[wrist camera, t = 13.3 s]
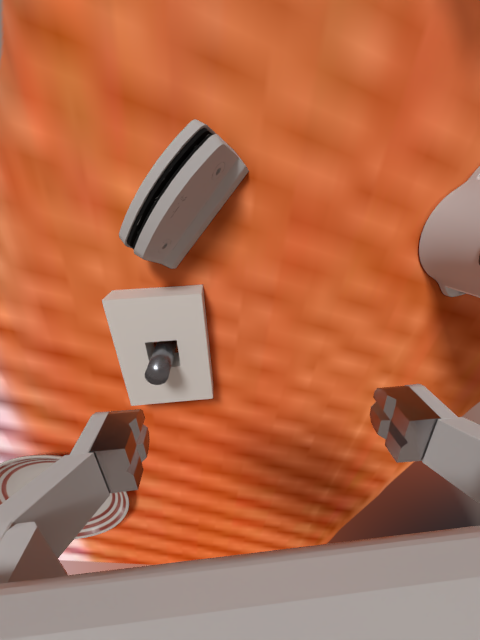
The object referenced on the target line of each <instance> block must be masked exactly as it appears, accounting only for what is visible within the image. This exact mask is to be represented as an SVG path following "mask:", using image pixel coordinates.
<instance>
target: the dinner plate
mask: <svg viewBox="0 0 480 640" xmlns="http://www.w3.org/2000/svg"><path fill="white" fill-rule="evenodd" d="M62 457H63V456H57V455H32V456H24V457H19V458H15V459H11V460H8V461H5V462H3V463H0V505H1V504H2V503H3V502H5V501H6V500H7V499H8V498H10V497H11V496H12V495H14V494H15V493H16V492H17V491H19V490H20V489H21V488H23V487H24V486H25V485H27V484H28V483H29V482H30V481H32V480H33V479H34V478H36V477H37V476H38V475H40V474H41V473H42V472H43V471H45V470H46V469H47V468H49V467H50V466H51V465H53V464H54V463H55V462H56V461H58V460H59V459H60V458H62ZM128 508H129V498H128V495H127V492H126V491H125V492H117V493H110V496H109V497H108V498H107V499H106V501H105V502H104V503H103V504H102V506H101V507H100V508H99V509H98V510H97V512H96V513H95V514H94V515H93V516H92V518H91V519H90V520H89V521H88V523H87V524H86V525H85V526H84V527H83V529H82V530H81V531H80V532H79V533H78V535H77V536H76V537H75V538H74V539H78V538H85V537H90V536H94V535H98V534H101V533H103V532H105V531H108V530H110V529H112V528H113V527H115V526H116V525H117V524H119V523H120V522H121V521H122V520H123V518H124V517H125V516H126V514H127V511H128Z"/></svg>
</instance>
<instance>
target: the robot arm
mask: <svg viewBox="0 0 480 640" xmlns="http://www.w3.org/2000/svg"><path fill="white" fill-rule="evenodd" d="M419 256H420V261H421V264H422V266H423V268H424V270H425V271H426V273H427V274H428V275H429V276H431V277H432V278H433V279H435V280H436V281H437V282H438V283H439V286H440V289H441V291H442V293H443V294H444V295H446V296H449V297H455V296H459V295H463V294H470V295H473V296H476V297H479V298H480V166H479V167H478V168H477V170H476V171H475V172H474V173H473V174H472V176H471V177H470V178H469V179H468V181H466V182H465V183H464V184H463V185H461V186H460V187H458V188H457V189H455V190H454V191H452V192H451V193H450V194H449V195H447V196H446V197H445V198H444V199H443V200H442V201H441V202H440V203H439V204H438V205H437V207H436V208H435V209H434V211H433V212H432V213H431V215H430V217H429V218H428V220H427V222H426V224H425V226H424V229H423V231H422V234H421V238H420V244H419ZM373 398H374V399H375V400H376V403H375V404H374V405H373V406H372V407H371V411H370V418H371V423H372V425H373V428H374V429H375V431H376V432H377V434H378V435H380V436H381V437H383V438H384V439H386V441H385V446H386V447H387V449H388V450H389V452H390V453H391V455H392V456H393V458H394V459H395V461H396V462H411V461H422V462H423V463H424V464H426V465H427V466H428V467H430V468H431V469H433V470H434V471H435V472H437V473H438V474H440V475H441V476H442V477H443V478H445V479H446V480H448V481H449V482H450V483H452V484H453V485H454V486H456V487H457V488H459V489H460V490H461V491H463V492H464V493H465V494H467V495H468V496H469V497H471V498H472V499H474V500H475V501H477V502H478V503H479V504H480V424H477V423H475V422H473V421H471V420H468V419H466V418H464V417H457V416H456V415H455V414H454V413H453V412H452V411H451V410H450V409H449V408H447V407H446V406H445V405H444V404H443V403H442V402H441V401H440V400H439V399H438V398H436V397H435V396H434V395H433V394H432V393H431V392H430V391H429V390H428V389H427V388H426V387H424V386H423V385H421V384H413V385H405V386H395V387H385V388H377V389H376V390H375V392H374V396H373ZM144 420H145V416H144V413H143V410H141V409H137V410H122V411H111V412H96V413H94V414H93V415H92V416H91V418H90V419H89V421H88V423H87V425H86V426H85V428H84V430H83V432H82V434H81V435H80V437H79V439H78V441H77V442H76V444H75V446H74V448H73V449H72V451H71V453H70V455H64V456H63V457H62V458H60V459H59V460H58V461H56V462H55V463H54V464H53V465H51V466H50V467H49V468H47V469H46V470H45V471H43V472H42V473H41V474H40V475H38V476H37V477H36V478H34V479H33V480H32V481H30V482H29V483H28V484H27V485H25V486H24V487H23V488H21V489H20V490H19V491H17V492H16V493H15V494H14V495H12V496H11V497H10V498H8V499H7V500H6V501H5V502H3V503H2V504H1V505H0V640H480V526H472V527H464V528H456V529H448V530H439V531H431V532H423V533H414V534H406V535H398V536H390V537H381V538H373V539H364V540H356V541H348V542H340V543H332V544H323V545H315V546H306V547H298V548H290V549H282V550H274V551H265V552H257V553H249V554H241V555H232V556H224V557H216V558H208V559H199V560H191V561H183V562H175V563H166V564H158V565H150V566H142V567H133V568H125V569H117V570H109V571H100V572H92V573H84V574H76V575H67V572H66V570H65V569H64V568H63V566H62V564H61V563H60V561H59V559H58V558H59V556H60V555H61V554H62V553H63V552H64V550H65V549H66V548H67V547H68V546H69V544H70V543H71V542H72V541H73V540H74V538H75V537H76V536H77V535H78V533H79V532H80V531H81V530H82V529H83V527H84V526H85V525H86V524H87V523H88V521H89V520H90V519H91V518H92V516H93V515H94V514H95V513H96V512H97V510H98V509H99V508H100V507H101V506H102V504H103V503H104V502H105V501H106V499H107V498H108V497H109V496H110V493H117V492H125V491H132V490H138V488H139V484H140V481H141V477H142V473H143V466H142V461H143V460H144V459H145V458H146V457H147V454H148V450H149V431H148V428H147V427H146V426H145V425H144V424H143V423H144Z"/></svg>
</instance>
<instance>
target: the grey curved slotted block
mask: <svg viewBox="0 0 480 640" xmlns="http://www.w3.org/2000/svg"><path fill="white" fill-rule="evenodd" d="M248 172H249V171H248V169H247V167H246V165H245V164H244V163H243V161H242V160H241V159H240V157H239V156H238V155H237V153H236V152H235V151H234V150H233V149H232V148H231V147H230V146H229V145H228V144H227V143H226V142H225V141H224V140H223V139H221V138H220V137H219V136H218V135H217V134H216V133H215V132H214V131H213V130H212V129H210V128H209V127H208V126H207V125H206V124H204V123H202V122H200V121H198V120H193V121H191V122H190V123H189V124H188V125H187V126H186V127H185V128H184V129H183V130H182V131H181V132H180V133H179V134H178V136H177V137H176V138H175V139H174V140H173V141H172V142H171V144H170V145H169V146H168V147H167V149H166V150H165V151H164V152H163V154H162V155H161V156H160V157H159V159H158V160H157V162H156V163H155V164H154V166H153V167H152V169H151V170H150V172H149V173H148V175H147V176H146V178H145V179H144V181H143V183H142V184H141V186H140V188H139V189H138V191H137V193H136V195H135V197H134V199H133V201H132V203H131V205H130V207H129V209H128V211H127V213H126V216H125V218H124V221H123V224H122V226H121V229H120V232H119V237H120V239H121V240H122V241H123V243H124V244H125V245H126V246H127V247H130V248H133V249H134V253H135V254H136V255H137V256H139V257H141V258H142V259H144V260H148V261H152V262H156V263H160V264H163V265H165V266H167V267H168V268H171V269H174V268H177V266H178V265H179V264H180V262H181V261H182V260H183V258H184V257H185V256H186V254H187V253H188V252H189V250H190V249H191V248H192V246H193V245H194V244H195V242H196V241H197V240H198V238H199V237H200V236H201V234H202V233H203V232H204V230H205V229H206V228H207V226H208V225H209V224H210V222H211V221H212V220H213V218H214V217H215V216H216V214H217V213H218V212H219V210H220V209H221V208H222V206H223V205H224V204H225V202H226V201H227V200H228V198H229V197H230V196H231V194H232V193H233V192H234V190H235V189H236V188H237V186H238V185H239V184H240V182H241V181H242V180H243V178H244V177H245V176H246V174H247V173H248Z"/></svg>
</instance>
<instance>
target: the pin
mask: <svg viewBox="0 0 480 640" xmlns="http://www.w3.org/2000/svg"><path fill="white" fill-rule="evenodd" d="M176 346H177V340H173V341H159V342H157V344H156V346H155V349H154V351H153V354H152V356H151V359H150V361H149V364H148V366H147V369H146V371H145V378H146V380H147V381H148V382H149V383H151V384H153V385H161V384H164V383H165V382H166V381H167V380H168V377H169V373H170V369H171V365H172V361H173V358H174V354H175V350H176Z"/></svg>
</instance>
